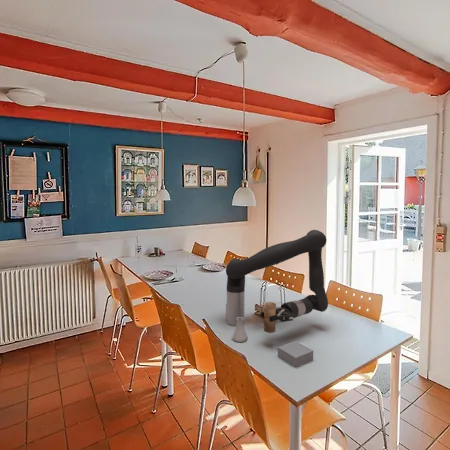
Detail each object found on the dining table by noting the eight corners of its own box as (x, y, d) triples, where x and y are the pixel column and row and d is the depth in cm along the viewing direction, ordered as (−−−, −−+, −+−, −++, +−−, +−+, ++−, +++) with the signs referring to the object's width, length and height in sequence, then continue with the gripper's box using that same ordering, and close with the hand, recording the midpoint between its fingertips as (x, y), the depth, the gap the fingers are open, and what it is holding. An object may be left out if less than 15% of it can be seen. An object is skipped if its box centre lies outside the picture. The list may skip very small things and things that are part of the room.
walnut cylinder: (261, 329, 139) (262, 303, 137) (269, 326, 142) (270, 301, 140) (269, 333, 135) (269, 307, 133) (277, 331, 137) (278, 304, 136)
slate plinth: (277, 356, 129) (277, 347, 129) (294, 349, 135) (295, 340, 134) (295, 367, 121) (295, 357, 120) (313, 360, 126) (313, 350, 126)
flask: (228, 340, 143) (228, 319, 142) (237, 334, 149) (237, 314, 148) (242, 344, 139) (242, 322, 138) (250, 338, 145) (250, 317, 144)
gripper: (282, 297, 151) (255, 303, 141) (305, 306, 139) (277, 314, 130) (282, 312, 152) (254, 319, 142) (304, 322, 140) (276, 331, 130)
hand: (265, 317), depth 136 cm, fingers closed on walnut cylinder, 5 cm apart
